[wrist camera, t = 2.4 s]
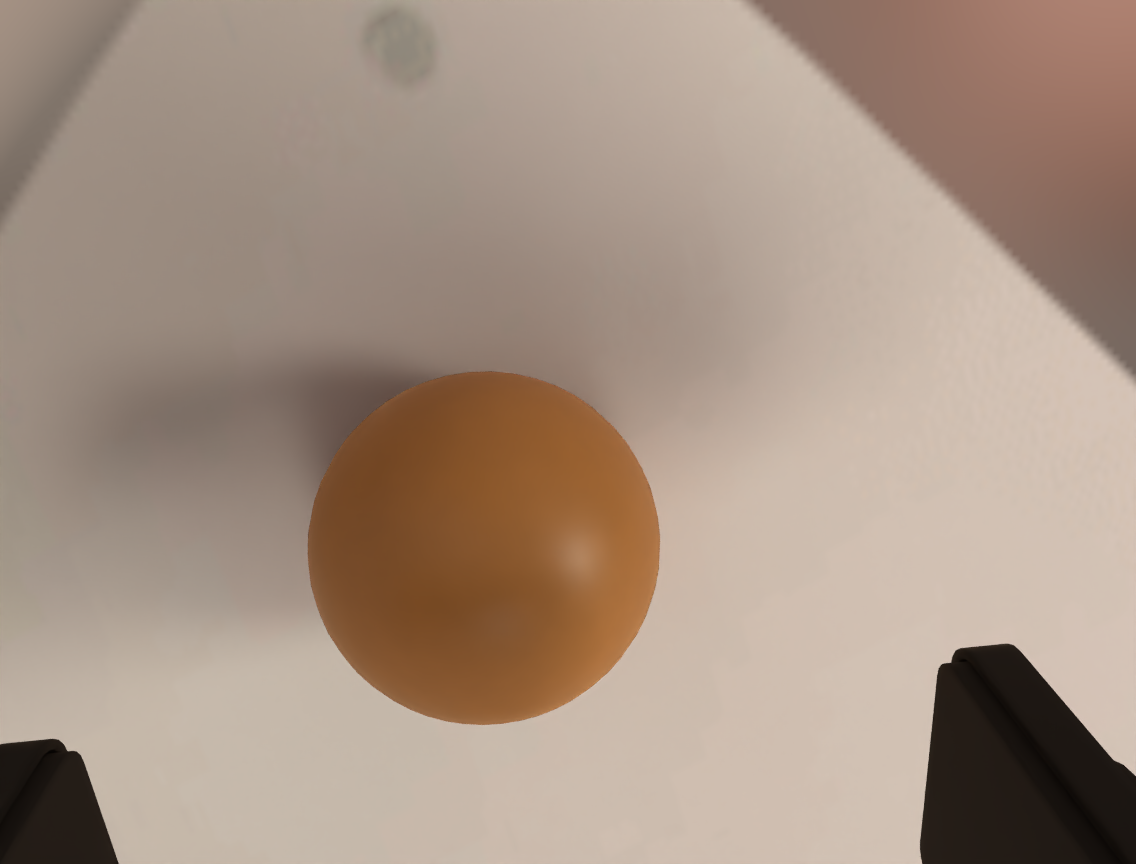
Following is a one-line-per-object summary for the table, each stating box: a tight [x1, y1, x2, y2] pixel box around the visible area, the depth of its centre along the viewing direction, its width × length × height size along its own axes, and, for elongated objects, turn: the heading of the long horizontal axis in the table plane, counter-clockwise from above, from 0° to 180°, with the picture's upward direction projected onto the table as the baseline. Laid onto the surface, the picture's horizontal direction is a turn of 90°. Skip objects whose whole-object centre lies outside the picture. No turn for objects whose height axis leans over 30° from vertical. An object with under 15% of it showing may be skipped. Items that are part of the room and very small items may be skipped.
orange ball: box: [308, 371, 660, 725], centre depth 15 cm, size 6×6×6 cm
